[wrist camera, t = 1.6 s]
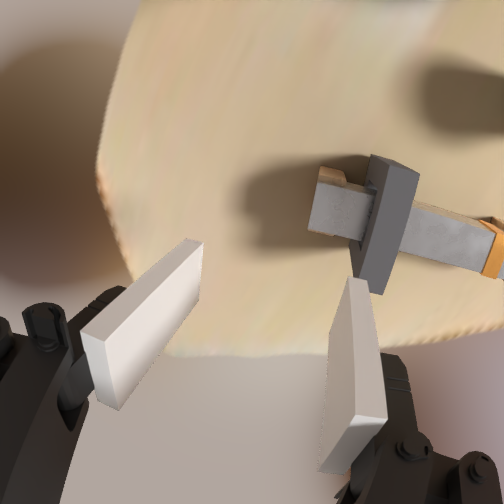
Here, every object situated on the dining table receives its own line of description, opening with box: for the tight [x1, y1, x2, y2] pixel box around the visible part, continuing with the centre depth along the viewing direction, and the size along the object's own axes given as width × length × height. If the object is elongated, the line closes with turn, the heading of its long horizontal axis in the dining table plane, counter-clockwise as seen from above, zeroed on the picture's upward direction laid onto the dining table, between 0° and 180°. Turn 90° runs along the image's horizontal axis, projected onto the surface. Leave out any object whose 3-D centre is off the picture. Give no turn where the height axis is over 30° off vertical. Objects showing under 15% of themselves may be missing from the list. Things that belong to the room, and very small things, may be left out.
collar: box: [349, 154, 420, 295], centre depth 26 cm, size 10×2×10 cm, turn 172°
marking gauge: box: [307, 166, 504, 281], centre depth 27 cm, size 5×24×8 cm, turn 82°
